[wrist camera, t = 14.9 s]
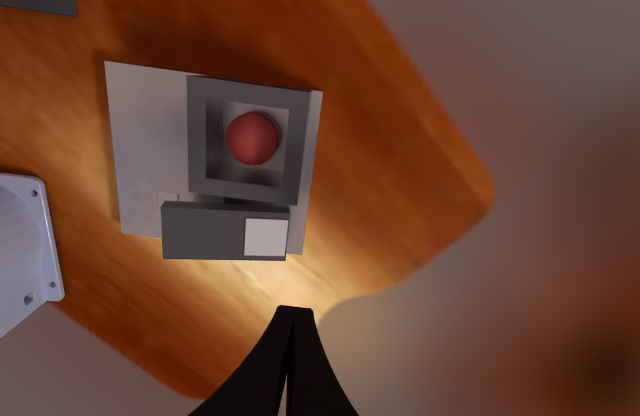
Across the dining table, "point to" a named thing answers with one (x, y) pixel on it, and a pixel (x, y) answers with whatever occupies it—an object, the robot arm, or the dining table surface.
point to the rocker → (224, 231)
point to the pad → (44, 6)
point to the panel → (205, 144)
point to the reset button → (253, 137)
